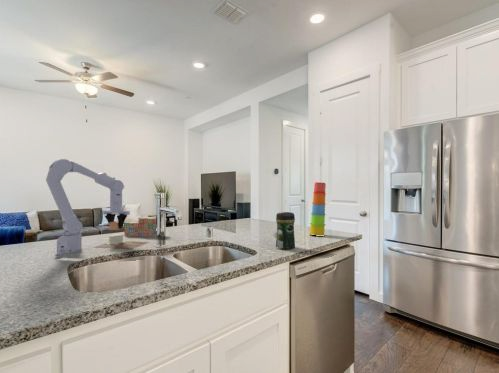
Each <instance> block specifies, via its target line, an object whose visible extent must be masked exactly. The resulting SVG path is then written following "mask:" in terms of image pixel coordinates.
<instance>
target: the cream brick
mask: <svg viewBox="0 0 499 373" xmlns="http://www.w3.org/2000/svg"><path fill="white" fill-rule="evenodd" d="M108 236H109V238H108V241H109V242H108V243H109V244H119V243H121V242H123V241H124V234H117V233H116V234H111V235H108Z"/></svg>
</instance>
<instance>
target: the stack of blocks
mask: <svg viewBox="0 0 499 373" xmlns="http://www.w3.org/2000/svg"><path fill="white" fill-rule="evenodd" d="M156 217H157V216H153V217H152V216H142V217H138V221H132V220H131V221H125V222H124V224H123V229H124V234H123V237H124V236H125V237H128V236H129V237H153V238H154V237H155V238H158V237H157V231H156Z"/></svg>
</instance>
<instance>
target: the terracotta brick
mask: <svg viewBox="0 0 499 373" xmlns="http://www.w3.org/2000/svg"><path fill="white" fill-rule="evenodd" d="M108 226H109V227H108V230H109V231H120V230H123V229H124V226H123V227H122V228H121V229H119V227H118V220H114V221H113V222H109V223H108Z"/></svg>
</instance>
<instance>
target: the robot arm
mask: <svg viewBox="0 0 499 373" xmlns="http://www.w3.org/2000/svg"><path fill="white" fill-rule="evenodd" d="M68 173H78V174H81V175H83V176H86V177H88V178H89V179H93V180H94V182H95V183H96V184H98V185H101V186H102V187H105V188H108V189H109V190H110V192H109V204H110V205H109V210H102V215H104V218H105V219H106V221H107V223H108V224H109V222H113V221H115V218H117V221H118V227H119V229H120V230H122V229H121V228H122V227H123V228H124V223H125V222H126V219H127V217H128V216H129V215H130V214H131V213H130V210H123V189H124V188H125V185H124V182H123V181H122V180H120V179H116V177H111V176H110V175H107V173H106V172H99V173H97V172H94V171H93V170H92V169H89V168H87V167H86V166H83V165H81V164H79V163H77V162H75V161H70V160H69V159H66V158H60V159H58V160H54V161H53V162H52V163H51V165H49V167H48V172H47V175H46V177H45V178H46V179H45V182H46V184H47V186H48V189H49V191H50V194H51V196H52V198H53V200H54V202H55V204H56V206H57V209H58V211H59V213H60V216H61V220H62V230H64V232H63V233H62V235H61V236H59V237H58V238H57V240H56V253H55V254H54V255H56V256H60V255H64V254H70V253H73V252H78V251H82V247H83V246H82V242H83V241H82V235H83V233H82V230H83V227H84V226H83V223H82V222H81V221H80V220H79V219H78V217H77V216H76V214H75V213H74V210H73V209H72V205H71V203H70V201H69V198H68V196H67V194H66V191H65V189H64V187H63V184H62V182H61V181H62V180H63V178H64V177H65V175H66V174H68Z"/></svg>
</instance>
